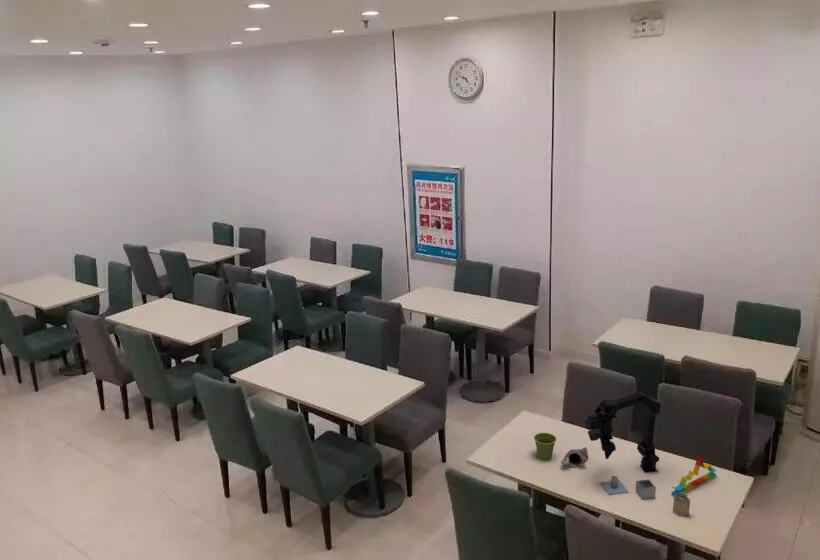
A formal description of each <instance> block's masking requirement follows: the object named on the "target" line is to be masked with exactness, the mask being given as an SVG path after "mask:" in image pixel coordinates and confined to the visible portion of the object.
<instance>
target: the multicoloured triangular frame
mask: <svg viewBox="0 0 820 560" xmlns="http://www.w3.org/2000/svg"><path fill="white" fill-rule="evenodd" d="M700 468H703V469H707V470H708V471H709V472H708V473H705V474H704V475H702V476H699V477H698V478H696V479H694V480H692V478H693V477H694V476H698V475H699V471H700ZM716 471H717V469H716V468H714V467H712V465H711V464H709V463H707V462H705V463H704V460H703V458H701V457H699V456H697V457H696V461H695V464H694V468H693V470H689V471H688V473H687V475H686V476H682V477H681V480H680V481H679V484H678V485H677V486H676V487H675V486H674V487H673V486H671V489H674V490H673V491H671V493H670V495H671V496H672V497H674V496H675V495H676V493H677V492H680V493H685V494H687V493H689V492H691V491H693V490H695V489H696V488H698V487H701V486H702V485H704V484H706V483H708V482H709V481H712V480H714V479H716V478H717V473H715V472H716ZM687 481H690V482H688V483H687Z"/></svg>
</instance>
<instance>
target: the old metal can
mask: <svg viewBox="0 0 820 560" xmlns="http://www.w3.org/2000/svg"><path fill="white" fill-rule="evenodd" d="M672 504H673V506H672V512H673V513H674V514H677V515H679V516H683V517H689V515H690V506H691V499H690V498H689V497H688V495H687V493H680V492H677V493H676V495H675V496H673V503H672Z"/></svg>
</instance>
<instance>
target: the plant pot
mask: <svg viewBox="0 0 820 560" xmlns="http://www.w3.org/2000/svg"><path fill="white" fill-rule="evenodd" d="M557 439H558V438H557V437H556V435H554V434H552V433H549V432H538V433H536V434H534V436H533V440H534V441H535V447H536V453H537V454H536V455H537V458H538V459H540V460H543V461H549V460H551V459H552V457H553V451H554V448H555V444H556V442H557Z"/></svg>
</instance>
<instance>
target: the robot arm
mask: <svg viewBox="0 0 820 560" xmlns="http://www.w3.org/2000/svg"><path fill="white" fill-rule="evenodd" d="M638 404H642V405H643V406H642V407H643V411H644V425H643V434H642V439H641V440H640V441H638V442H637V447H636V449H637V452H638V453H639V454H640V455H641V460H640V465H639V467H640V468H641V469H642V470H643V472H645V473H655V472H658V469H657V463H658V462H659V461H660V457H659V456H658V455H657V454H656V448H655V445H654V434H655V427H656V418H657V417H658V415H659V414H660V411H661V409H662V404H661V403H660V402H659V401H657V399H655V398H654V397H652V396H647V395H645V394H643V393H642V392H640V391H637V392H635V393H633V394H630V395H627V396H624V397H620V398H618V399H604V400H601V401H600V403H599V404H598V406H597V407H596V409H595V411H594V412H593V413H594V415H587V416H586V418H585V419H584V426H585V428H586V429H587V435H588V437H589V440H590V442H591V441H592V442H595V441H598V440H600V445H601V446H600V447H601V450H602V451H603V452H604V457H605V459H606V460H608V459H609V458H610V457H611V456H612V454H613V452H615V451H616V449H617V448H616V444H615V442H614V441H611V440H613V438H614V437H613V433H614V428H613V419H615V418H616V419H617V418H618V416H617V415H616V414H617V413H618V412H619V411H621V410H622V409H626V408H628V407H632V406H635V405H638Z"/></svg>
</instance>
